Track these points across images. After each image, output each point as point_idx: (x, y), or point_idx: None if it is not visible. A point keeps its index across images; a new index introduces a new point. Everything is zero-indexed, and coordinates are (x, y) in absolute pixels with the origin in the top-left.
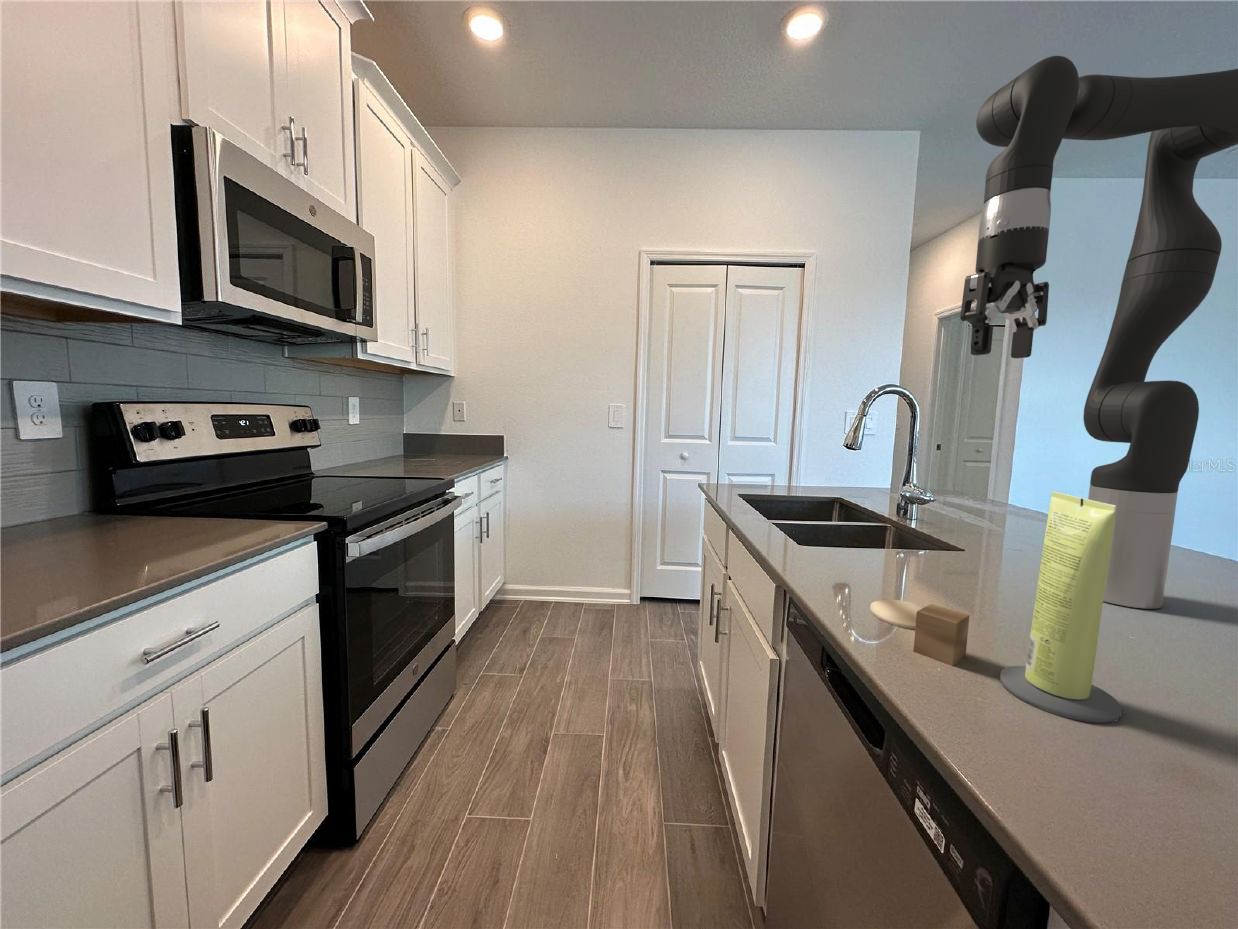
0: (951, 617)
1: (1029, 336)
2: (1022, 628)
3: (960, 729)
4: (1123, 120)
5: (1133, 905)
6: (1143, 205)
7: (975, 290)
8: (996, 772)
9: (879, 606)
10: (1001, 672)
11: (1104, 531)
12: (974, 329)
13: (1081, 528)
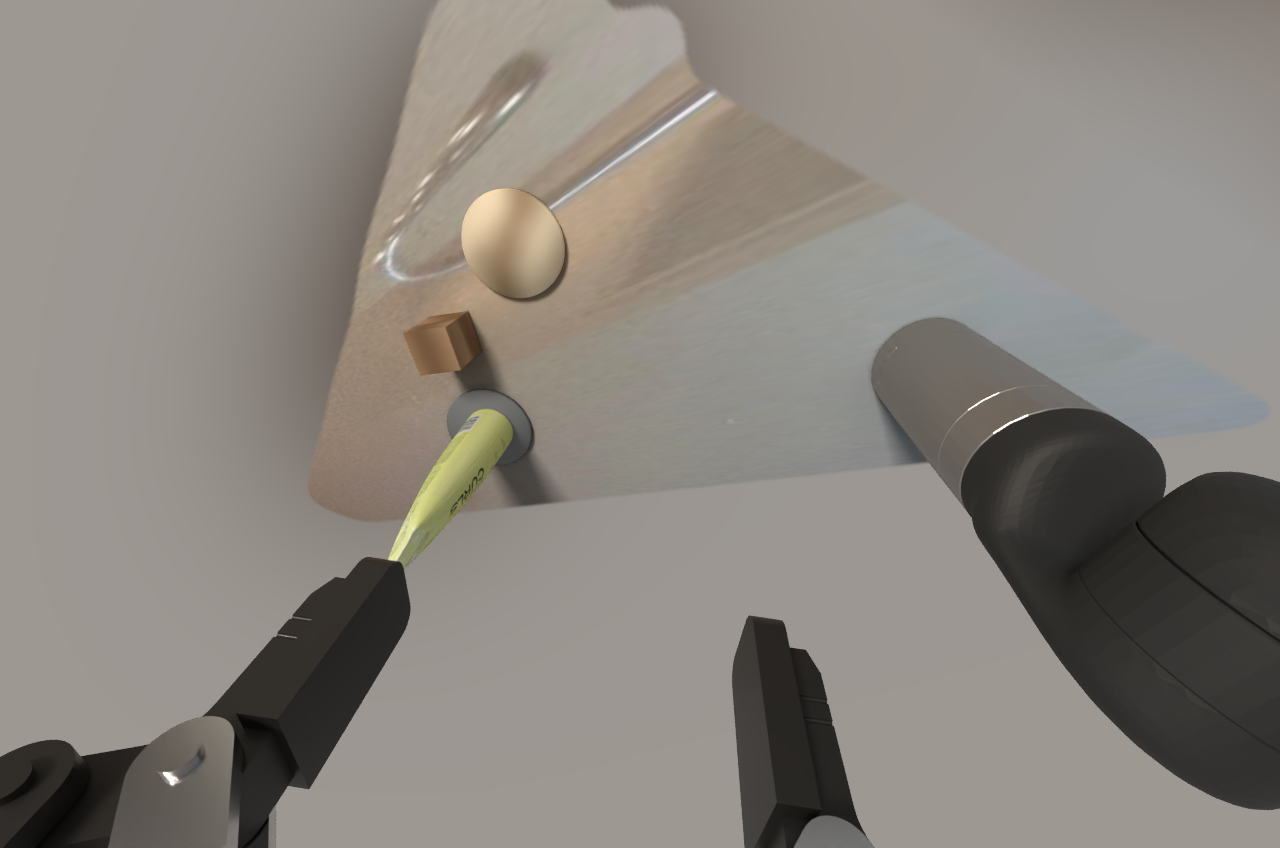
0: (430, 364)
1: (742, 802)
2: (633, 347)
3: (358, 411)
4: None
5: (327, 504)
6: None
7: None
8: (342, 443)
9: (488, 209)
10: (468, 393)
11: None
12: (227, 708)
13: (394, 545)
